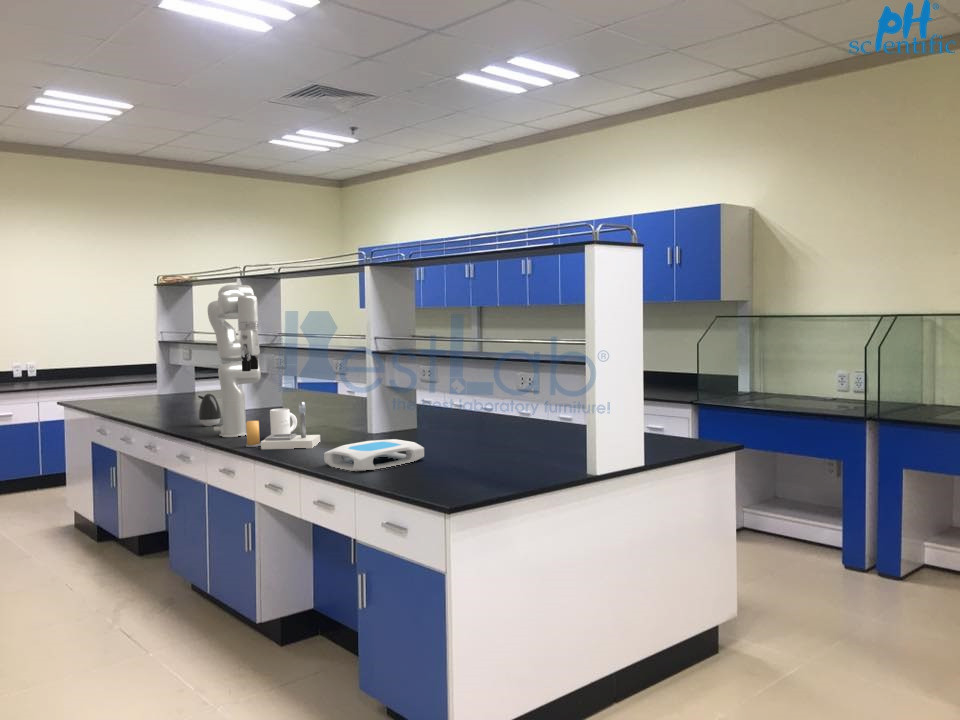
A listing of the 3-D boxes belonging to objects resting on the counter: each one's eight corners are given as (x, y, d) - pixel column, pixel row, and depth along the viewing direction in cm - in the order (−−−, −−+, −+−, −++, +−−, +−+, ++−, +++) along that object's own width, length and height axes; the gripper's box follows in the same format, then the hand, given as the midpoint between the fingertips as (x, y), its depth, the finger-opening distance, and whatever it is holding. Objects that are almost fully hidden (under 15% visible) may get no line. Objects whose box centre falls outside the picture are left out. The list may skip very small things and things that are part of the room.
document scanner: (323, 466, 270) (322, 448, 269) (387, 454, 290) (387, 437, 289) (360, 474, 255) (360, 455, 254) (425, 461, 275) (424, 443, 274)
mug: (302, 436, 333) (301, 408, 332) (277, 440, 325) (276, 411, 324) (292, 434, 339) (291, 406, 338) (267, 438, 331) (266, 409, 330)
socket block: (260, 449, 304) (260, 439, 304) (271, 443, 318) (270, 433, 318) (312, 448, 304) (312, 438, 303) (320, 442, 318) (319, 432, 317)
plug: (244, 447, 308) (242, 422, 308) (248, 445, 314) (247, 420, 313) (258, 447, 308) (257, 422, 307) (263, 445, 314) (261, 420, 313)
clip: (306, 442, 298) (305, 405, 297) (300, 442, 297) (298, 406, 296) (306, 436, 312) (305, 401, 311) (300, 436, 311) (299, 401, 310)
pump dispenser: (204, 424, 377) (203, 392, 376) (225, 424, 376) (223, 392, 375) (194, 427, 367) (192, 395, 366) (215, 427, 366) (213, 394, 365)
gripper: (251, 327, 299) (253, 371, 300) (264, 326, 316) (266, 368, 318) (231, 327, 299) (233, 372, 300) (245, 326, 317) (247, 368, 318)
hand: (250, 370), depth 309 cm, fingers open, 9 cm apart
